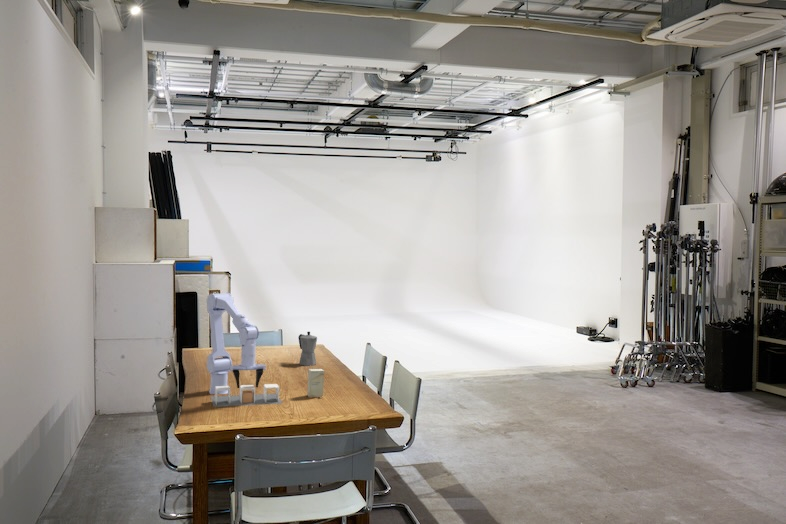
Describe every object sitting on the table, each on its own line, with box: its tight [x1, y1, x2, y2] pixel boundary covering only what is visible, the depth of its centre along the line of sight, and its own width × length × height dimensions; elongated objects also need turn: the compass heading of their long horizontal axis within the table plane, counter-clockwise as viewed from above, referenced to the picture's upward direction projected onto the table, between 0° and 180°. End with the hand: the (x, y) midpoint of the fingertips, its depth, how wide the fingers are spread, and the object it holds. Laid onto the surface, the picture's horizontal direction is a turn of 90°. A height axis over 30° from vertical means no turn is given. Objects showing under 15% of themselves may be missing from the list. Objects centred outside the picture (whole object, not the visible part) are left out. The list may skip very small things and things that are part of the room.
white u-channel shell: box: [239, 384, 256, 404], centre depth 277 cm, size 6×6×6 cm
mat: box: [210, 393, 283, 408], centre depth 280 cm, size 17×28×1 cm, turn 109°
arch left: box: [214, 385, 231, 405], centre depth 274 cm, size 6×6×6 cm
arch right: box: [263, 383, 280, 402], centre depth 280 cm, size 6×6×6 cm
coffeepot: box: [298, 331, 318, 367], centre depth 362 cm, size 15×9×18 cm, turn 44°
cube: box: [242, 390, 253, 403], centre depth 277 cm, size 4×4×4 cm
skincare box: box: [307, 368, 325, 398], centre depth 291 cm, size 6×4×12 cm
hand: (247, 387), depth 277 cm, fingers open, 7 cm apart
